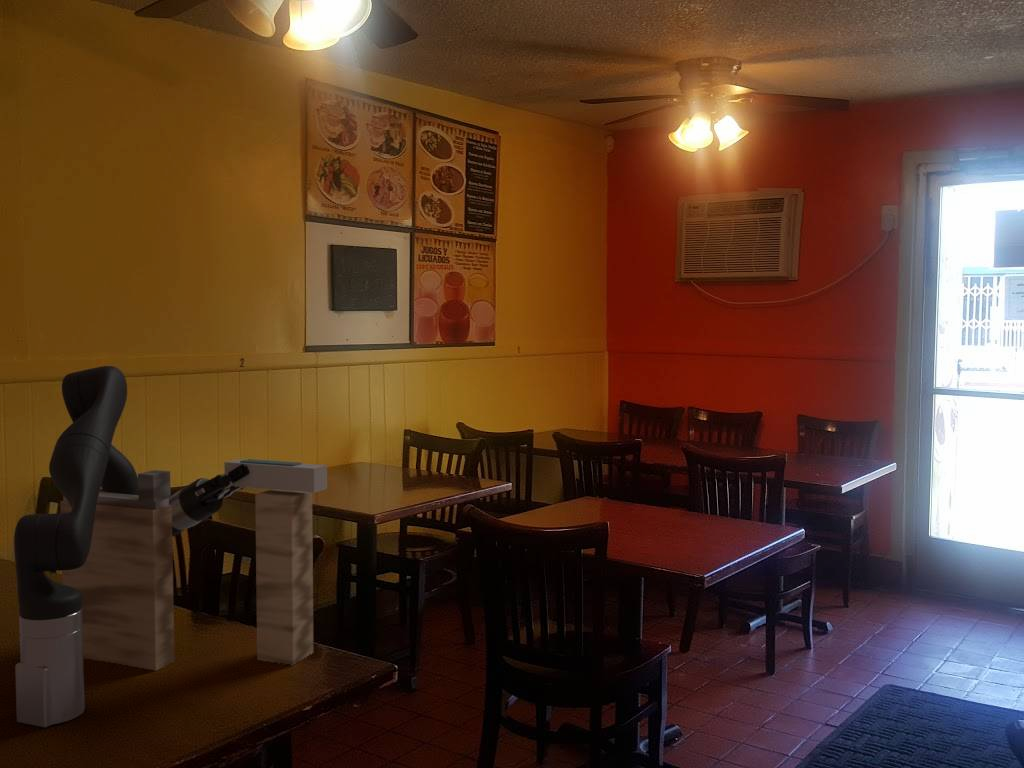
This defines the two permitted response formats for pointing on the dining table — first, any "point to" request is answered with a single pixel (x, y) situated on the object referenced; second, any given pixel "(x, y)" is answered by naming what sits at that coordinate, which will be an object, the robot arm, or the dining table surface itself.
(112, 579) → the rail post
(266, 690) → the dining table surface
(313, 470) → the block
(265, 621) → the stand
